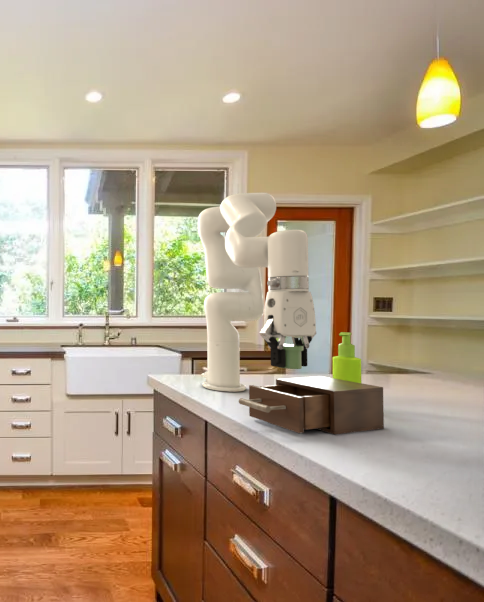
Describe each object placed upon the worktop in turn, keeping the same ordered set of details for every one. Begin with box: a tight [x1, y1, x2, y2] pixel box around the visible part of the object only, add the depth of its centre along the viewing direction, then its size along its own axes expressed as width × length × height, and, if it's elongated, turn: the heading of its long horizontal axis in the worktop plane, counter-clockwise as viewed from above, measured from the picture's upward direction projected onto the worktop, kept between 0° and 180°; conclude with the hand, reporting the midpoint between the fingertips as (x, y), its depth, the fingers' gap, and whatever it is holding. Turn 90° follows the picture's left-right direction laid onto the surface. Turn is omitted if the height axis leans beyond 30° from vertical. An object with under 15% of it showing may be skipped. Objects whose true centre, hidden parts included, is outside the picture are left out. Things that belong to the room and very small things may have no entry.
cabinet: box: [275, 375, 385, 436], centre depth 86 cm, size 15×14×9 cm
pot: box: [278, 343, 304, 370], centre depth 83 cm, size 5×5×5 cm
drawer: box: [238, 384, 331, 434], centre depth 82 cm, size 19×12×7 cm, turn 105°
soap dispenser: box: [331, 331, 362, 383], centre depth 98 cm, size 6×7×20 cm
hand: (289, 365), depth 83 cm, fingers closed on pot, 5 cm apart
